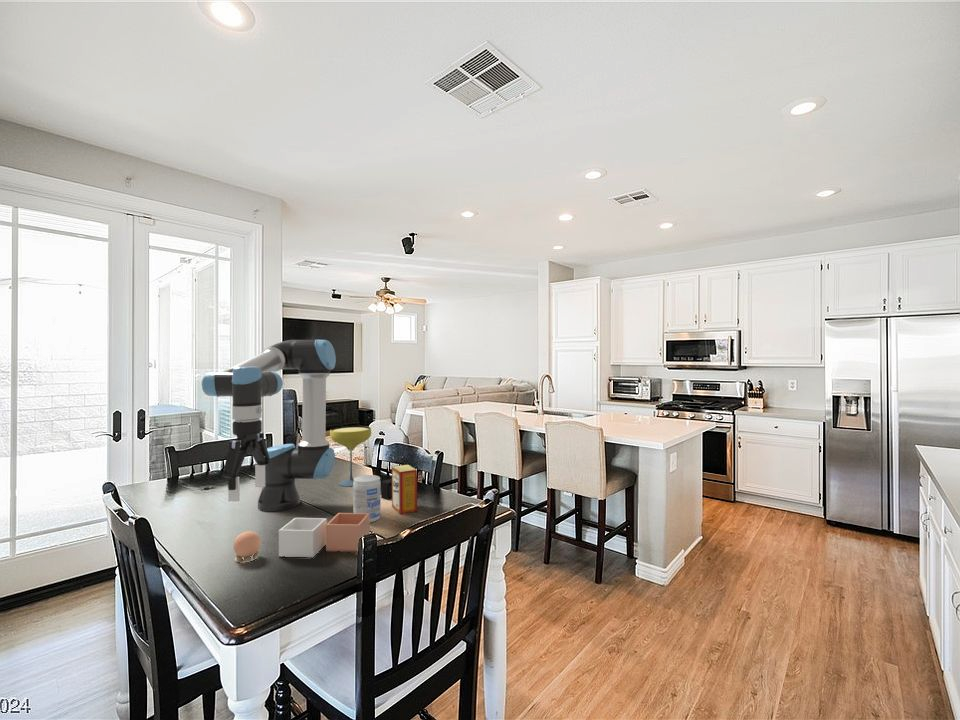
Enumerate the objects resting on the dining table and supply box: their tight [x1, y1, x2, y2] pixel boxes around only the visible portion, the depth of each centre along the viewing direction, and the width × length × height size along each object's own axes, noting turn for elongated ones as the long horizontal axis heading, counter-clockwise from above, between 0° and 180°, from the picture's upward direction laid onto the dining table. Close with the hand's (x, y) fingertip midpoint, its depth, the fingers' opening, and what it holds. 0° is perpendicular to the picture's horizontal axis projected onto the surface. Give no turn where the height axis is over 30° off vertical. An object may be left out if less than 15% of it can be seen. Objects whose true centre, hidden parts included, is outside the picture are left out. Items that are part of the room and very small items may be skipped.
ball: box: [233, 530, 262, 557], centre depth 133 cm, size 7×7×7 cm
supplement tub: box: [352, 474, 382, 523], centre depth 164 cm, size 10×10×15 cm
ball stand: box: [234, 550, 259, 564], centre depth 133 cm, size 6×6×1 cm
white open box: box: [278, 517, 328, 559], centre depth 138 cm, size 10×10×8 cm
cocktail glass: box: [329, 425, 372, 488], centre depth 209 cm, size 18×18×25 cm
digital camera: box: [380, 478, 392, 501], centre depth 190 cm, size 10×5×7 cm, turn 143°
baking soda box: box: [391, 464, 418, 515], centre depth 175 cm, size 10×6×16 cm
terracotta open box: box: [325, 512, 371, 553], centre depth 142 cm, size 10×10×8 cm
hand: (247, 493), depth 133 cm, fingers open, 13 cm apart
